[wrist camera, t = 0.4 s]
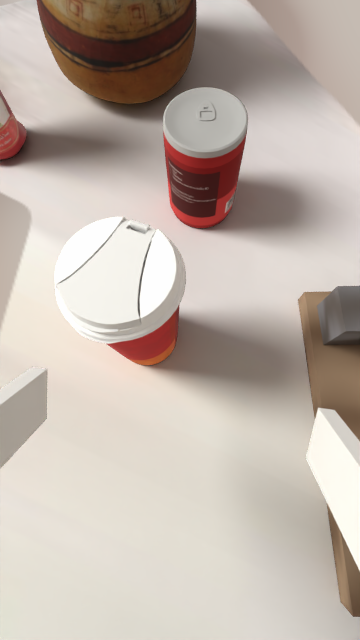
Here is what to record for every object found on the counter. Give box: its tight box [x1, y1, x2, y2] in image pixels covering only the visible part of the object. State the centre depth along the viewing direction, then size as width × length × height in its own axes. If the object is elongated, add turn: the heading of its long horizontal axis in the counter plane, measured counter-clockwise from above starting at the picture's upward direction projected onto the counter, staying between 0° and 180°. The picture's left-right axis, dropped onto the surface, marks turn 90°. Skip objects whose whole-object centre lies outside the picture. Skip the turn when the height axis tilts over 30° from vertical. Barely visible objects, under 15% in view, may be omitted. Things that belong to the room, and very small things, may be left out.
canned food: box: [163, 87, 248, 228], centre depth 32 cm, size 8×8×11 cm
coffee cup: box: [55, 217, 186, 365], centre depth 25 cm, size 8×8×15 cm
